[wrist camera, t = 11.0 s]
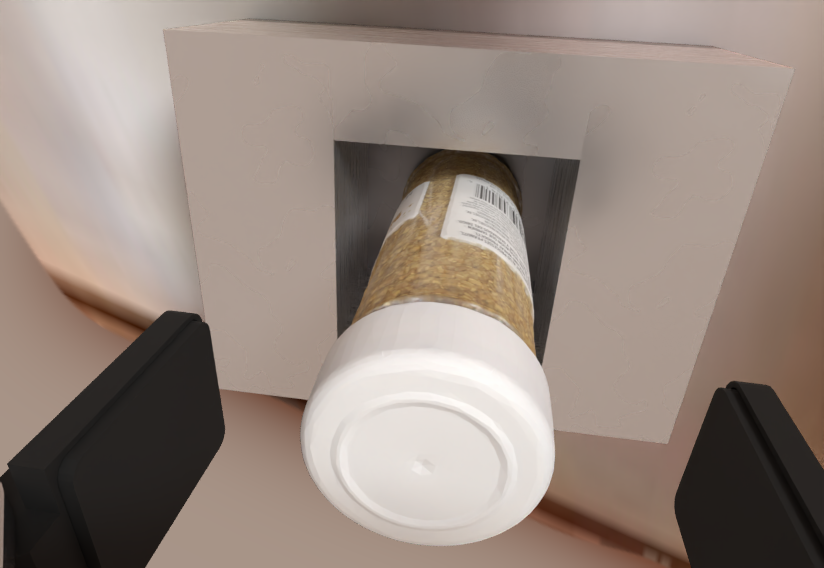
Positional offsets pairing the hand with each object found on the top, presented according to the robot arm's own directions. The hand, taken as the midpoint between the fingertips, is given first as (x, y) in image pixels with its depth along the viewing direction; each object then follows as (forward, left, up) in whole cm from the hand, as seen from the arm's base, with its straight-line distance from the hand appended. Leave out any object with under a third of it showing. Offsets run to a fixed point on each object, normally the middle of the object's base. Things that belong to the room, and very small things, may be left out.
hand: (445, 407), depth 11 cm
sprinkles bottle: (0, 0, -12) cm, 12 cm away
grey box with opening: (+1, 0, -13) cm, 13 cm away
